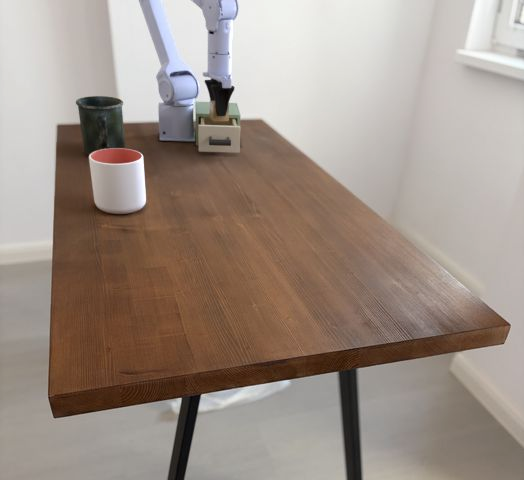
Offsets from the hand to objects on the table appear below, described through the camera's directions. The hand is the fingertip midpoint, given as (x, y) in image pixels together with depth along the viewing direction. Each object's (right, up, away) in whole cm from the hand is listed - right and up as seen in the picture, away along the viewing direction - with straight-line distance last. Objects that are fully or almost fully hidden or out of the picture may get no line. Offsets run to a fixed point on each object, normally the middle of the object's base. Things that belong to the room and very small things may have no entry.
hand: (218, 113), depth 138 cm
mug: (-28, -12, -3) cm, 30 cm away
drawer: (0, -7, +5) cm, 8 cm away
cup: (-17, -31, -28) cm, 45 cm away
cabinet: (-2, -1, +14) cm, 14 cm away
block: (0, -1, +1) cm, 1 cm away
